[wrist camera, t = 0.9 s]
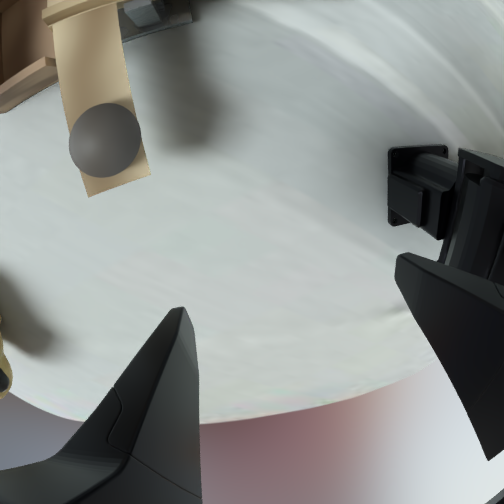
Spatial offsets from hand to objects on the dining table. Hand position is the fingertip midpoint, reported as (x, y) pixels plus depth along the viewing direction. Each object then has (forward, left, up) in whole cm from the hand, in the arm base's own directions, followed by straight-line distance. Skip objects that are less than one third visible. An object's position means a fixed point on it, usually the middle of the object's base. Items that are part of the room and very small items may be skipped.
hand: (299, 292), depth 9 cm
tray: (+13, -16, -12) cm, 24 cm away
